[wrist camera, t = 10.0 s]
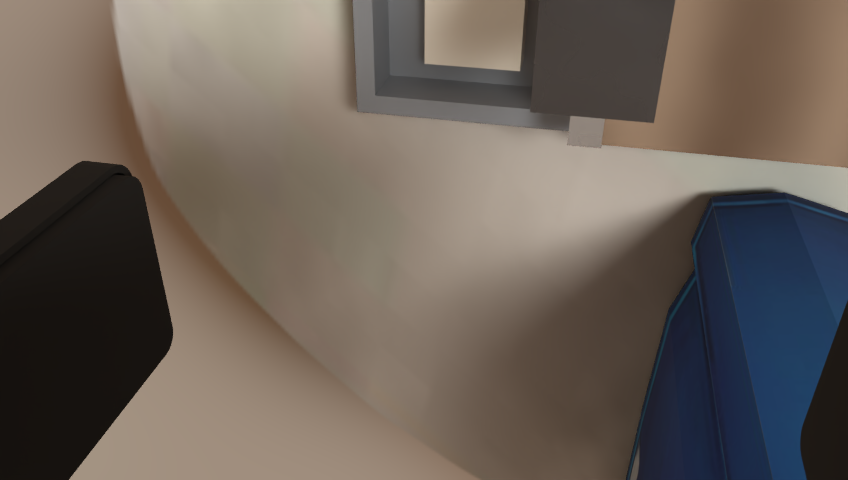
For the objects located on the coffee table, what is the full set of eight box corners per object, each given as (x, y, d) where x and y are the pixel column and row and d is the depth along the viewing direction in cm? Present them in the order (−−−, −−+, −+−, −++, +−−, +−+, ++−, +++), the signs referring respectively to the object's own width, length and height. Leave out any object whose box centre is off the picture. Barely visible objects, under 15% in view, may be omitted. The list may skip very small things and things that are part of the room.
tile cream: (425, -36, 30) (432, -44, 32) (424, 63, 33) (431, 52, 34) (527, -30, 30) (531, -39, 31) (519, 71, 32) (523, 59, 33)
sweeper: (683, -245, 23) (717, -241, 15) (626, 125, 30) (626, 275, 21) (582, -245, 24) (559, -242, 15) (547, 119, 30) (517, 262, 22)
